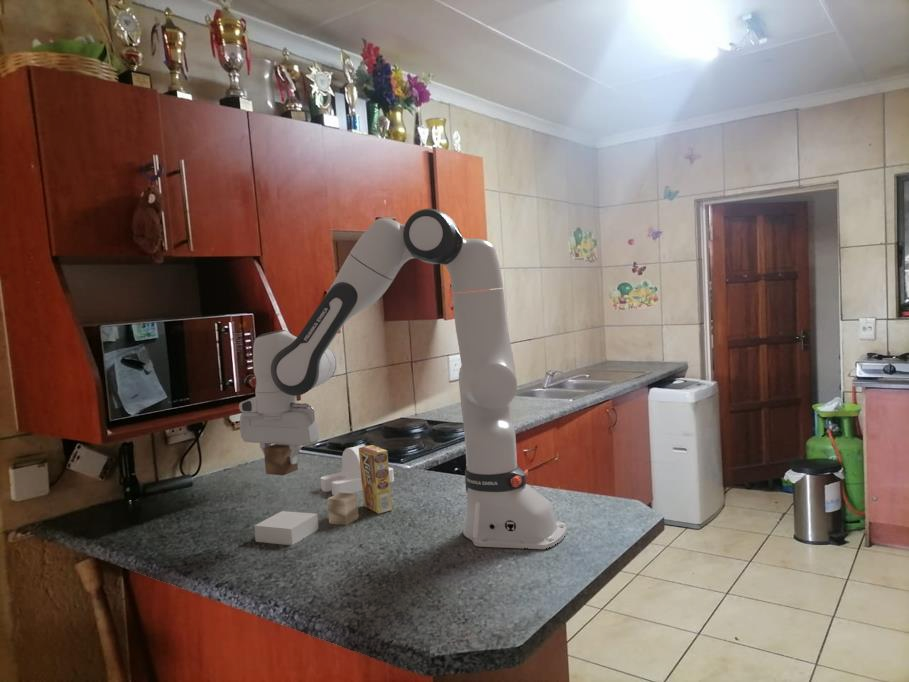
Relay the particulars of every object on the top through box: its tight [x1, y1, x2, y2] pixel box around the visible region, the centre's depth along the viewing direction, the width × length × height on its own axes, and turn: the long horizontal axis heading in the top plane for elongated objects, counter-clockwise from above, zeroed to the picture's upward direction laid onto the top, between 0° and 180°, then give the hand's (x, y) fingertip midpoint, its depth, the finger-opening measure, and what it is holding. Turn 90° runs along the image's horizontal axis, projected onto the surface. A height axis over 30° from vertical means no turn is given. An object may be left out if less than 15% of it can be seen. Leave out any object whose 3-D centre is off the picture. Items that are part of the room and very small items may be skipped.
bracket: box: [320, 445, 395, 496], centre depth 185 cm, size 19×10×11 cm, turn 130°
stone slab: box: [253, 510, 319, 546], centre depth 148 cm, size 10×10×4 cm
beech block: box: [326, 493, 359, 526], centre depth 156 cm, size 5×5×6 cm
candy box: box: [359, 444, 393, 514], centre depth 163 cm, size 9×4×15 cm, turn 33°
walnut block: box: [263, 444, 299, 476], centre depth 147 cm, size 5×5×6 cm
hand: (281, 462), depth 147 cm, fingers closed on walnut block, 5 cm apart
